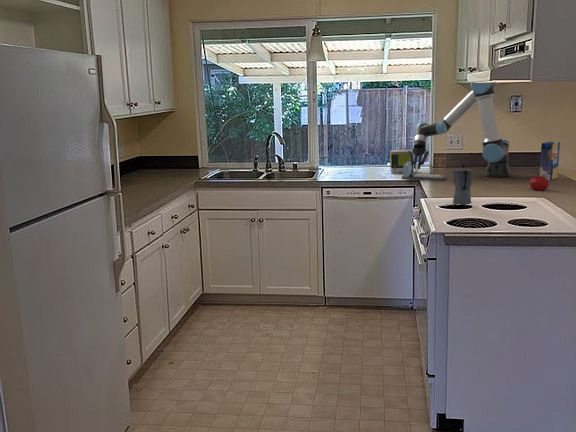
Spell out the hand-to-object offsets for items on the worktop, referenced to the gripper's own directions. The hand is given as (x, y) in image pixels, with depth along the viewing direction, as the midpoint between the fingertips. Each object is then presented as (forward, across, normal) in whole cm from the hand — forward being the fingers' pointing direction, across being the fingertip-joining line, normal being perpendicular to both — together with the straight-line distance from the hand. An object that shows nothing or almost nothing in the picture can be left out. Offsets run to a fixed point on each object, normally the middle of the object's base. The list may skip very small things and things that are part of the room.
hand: (416, 172), depth 377 cm
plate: (-3, -4, -9) cm, 10 cm away
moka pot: (+56, -32, +49) cm, 81 cm away
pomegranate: (+18, -70, +11) cm, 73 cm away
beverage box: (-12, -78, -19) cm, 81 cm away
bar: (-1, +6, -3) cm, 7 cm away
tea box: (-20, +14, -26) cm, 36 cm away
